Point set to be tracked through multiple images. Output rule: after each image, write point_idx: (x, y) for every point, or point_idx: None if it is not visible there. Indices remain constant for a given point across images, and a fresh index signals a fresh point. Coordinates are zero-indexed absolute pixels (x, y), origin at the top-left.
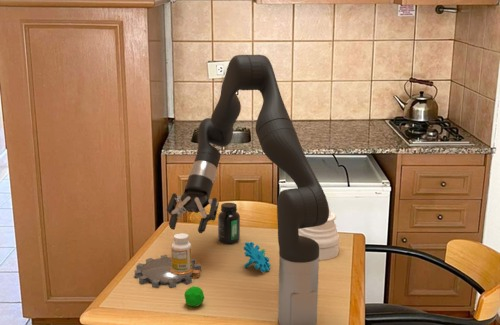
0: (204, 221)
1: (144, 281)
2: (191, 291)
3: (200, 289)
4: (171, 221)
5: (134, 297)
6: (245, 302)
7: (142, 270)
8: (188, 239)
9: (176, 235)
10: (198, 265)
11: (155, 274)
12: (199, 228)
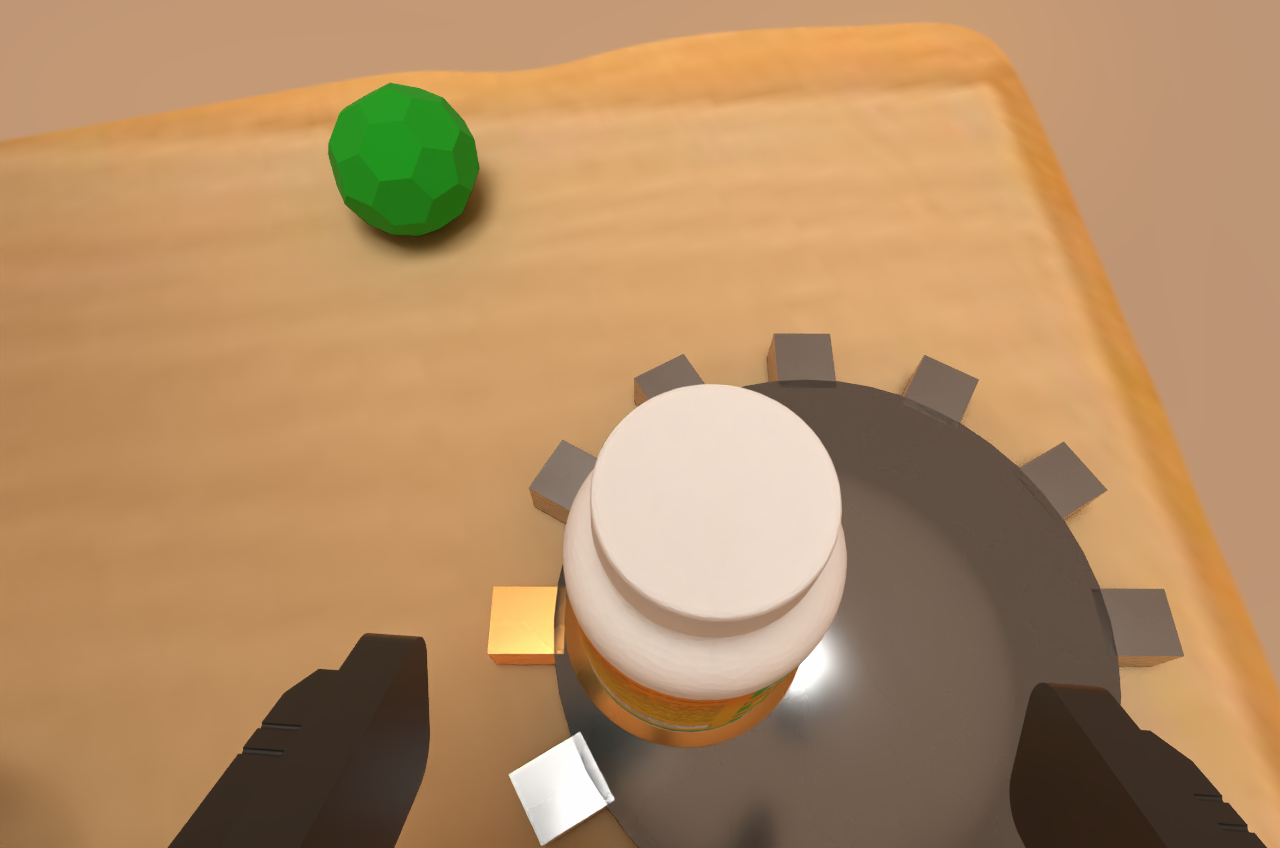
0: (219, 820)
1: (911, 378)
2: (402, 89)
3: (345, 139)
4: (1157, 761)
5: (854, 207)
6: (59, 311)
7: (1037, 507)
8: (593, 537)
9: (801, 487)
10: (541, 780)
11: (874, 460)
12: (379, 648)
